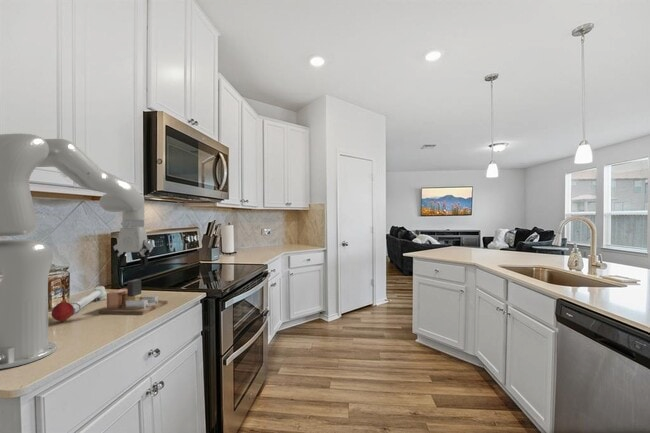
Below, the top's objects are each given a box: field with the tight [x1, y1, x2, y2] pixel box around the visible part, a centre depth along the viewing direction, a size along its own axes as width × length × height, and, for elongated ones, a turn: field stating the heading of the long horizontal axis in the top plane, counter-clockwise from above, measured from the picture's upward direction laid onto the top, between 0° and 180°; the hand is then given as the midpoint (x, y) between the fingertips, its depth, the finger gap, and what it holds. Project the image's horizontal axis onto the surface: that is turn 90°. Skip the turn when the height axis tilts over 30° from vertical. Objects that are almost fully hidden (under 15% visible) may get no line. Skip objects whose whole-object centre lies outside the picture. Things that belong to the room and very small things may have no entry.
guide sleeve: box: [126, 294, 159, 309], centre depth 113 cm, size 8×8×3 cm
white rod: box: [69, 285, 109, 316], centre depth 118 cm, size 5×7×25 cm
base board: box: [98, 299, 168, 315], centre depth 114 cm, size 14×19×1 cm
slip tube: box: [122, 278, 142, 303], centre depth 114 cm, size 4×9×9 cm, turn 83°
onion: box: [51, 299, 74, 323], centre depth 99 cm, size 6×6×8 cm
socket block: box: [106, 287, 127, 308], centre depth 114 cm, size 8×5×6 cm, turn 173°
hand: (133, 265), depth 113 cm, fingers open, 9 cm apart
